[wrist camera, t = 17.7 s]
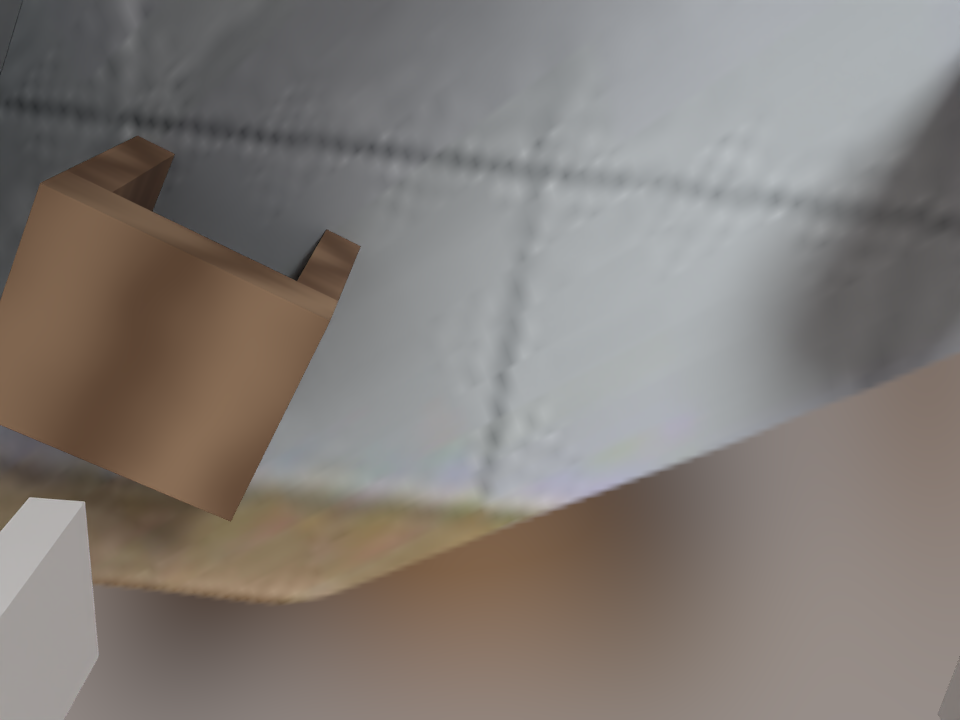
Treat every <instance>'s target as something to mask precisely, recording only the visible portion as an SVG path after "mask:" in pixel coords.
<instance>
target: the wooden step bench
mask: <svg viewBox="0 0 960 720" xmlns="http://www.w3.org/2000/svg"><path fill="white" fill-rule="evenodd" d="M174 155H175V154H173V153H171V152H169V151H167V150H165V149H163V148H161V147H159V146H157V145H155V144H153V143H151V142H149V141H147V140H145V139H143V138H141V137H139V136H136V137H134V138H132V139H130V140H128V141H126V142H124V143H122V144H119V145H117V146H115V147H113V148H111V149H109V150H107V151H105V152H103V153H101V154H99V155H97V156H95V157H93V158H91V159H89V160H87V161H84V162H82V163H80V164H78V165H76V166H74V167H72V168H70V169H68V170H66V171H64V172H62V173H60V174H58V175H56V176H54V177H52V178H50V179H47V180H45V181H43V182H41V183H40V185H39V188H38V191H37V194H36V197H35V200H34V203H33V206H32V209H31V211H30V214H29V217H28V220H27V223H26V226H25V229H24V232H23V235H22V238H21V241H20V244H19V247H18V250H17V253H16V256H15V259H14V262H13V265H12V268H11V270H10V273H9V276H8V279H7V282H6V285H5V288H4V291H3V294H2V297H1V300H0V425H2V426H4V427H6V428H9V429H11V430H14V431H16V432H18V433H21V434H23V435H26V436H28V437H30V438H33V439H35V440H37V441H40V442H42V443H45V444H47V445H49V446H52V447H54V448H57V449H59V450H61V451H64V452H66V453H68V454H71V455H73V456H76V457H78V458H80V459H83V460H85V461H87V462H90V463H92V464H95V465H97V466H99V467H102V468H104V469H107V470H109V471H111V472H114V473H116V474H118V475H121V476H123V477H126V478H128V479H130V480H133V481H135V482H138V483H140V484H142V485H145V486H147V487H149V488H152V489H154V490H157V491H159V492H161V493H164V494H166V495H169V496H171V497H173V498H176V499H178V500H180V501H183V502H185V503H188V504H190V505H192V506H195V507H197V508H199V509H202V510H204V511H207V512H209V513H211V514H214V515H216V516H219V517H221V518H223V519H226V520H228V521H230V522H231V520H232V518H233V516H234V514H235V512H236V510H237V508H238V506H239V504H240V502H241V500H242V498H243V496H244V494H245V492H246V490H247V488H248V486H249V484H250V482H251V480H252V478H253V476H254V473H255V471H256V469H257V467H258V465H259V463H260V461H261V459H262V457H263V455H264V453H265V451H266V449H267V447H268V445H269V443H270V441H271V439H272V437H273V435H274V433H275V431H276V429H277V427H278V425H279V423H280V421H281V419H282V417H283V415H284V413H285V411H286V409H287V407H288V405H289V403H290V401H291V399H292V397H293V395H294V393H295V391H296V389H297V387H298V385H299V383H300V381H301V379H302V377H303V375H304V373H305V371H306V368H307V366H308V364H309V362H310V360H311V358H312V356H313V354H314V352H315V350H316V348H317V346H318V344H319V342H320V340H321V338H322V336H323V334H324V332H325V330H326V328H327V326H328V324H329V322H330V320H331V317H332V315H333V313H334V310H335V308H336V305H337V303H338V300H339V298H340V295H341V293H342V291H343V288H344V286H345V283H346V281H347V278H348V276H349V274H350V271H351V269H352V266H353V264H354V261H355V259H356V256H357V254H358V252H359V249H360V247H361V246H359V245H357V244H355V243H353V242H351V241H349V240H347V239H345V238H343V237H341V236H339V235H337V234H335V233H333V232H331V231H329V230H327V229H326V231H325V233H324V235H323V236H322V238H321V240H320V242H319V243H318V245H317V247H316V249H315V250H314V252H313V254H312V256H311V257H310V259H309V261H308V263H307V264H306V266H305V268H304V270H303V271H302V273H301V275H300V277H299V278H298V280H297V281H295V280H293V279H291V278H289V277H287V276H285V275H283V274H281V273H279V272H277V271H275V270H273V269H270V268H268V267H266V266H264V265H262V264H260V263H258V262H256V261H254V260H252V259H250V258H248V257H246V256H243V255H241V254H239V253H237V252H235V251H233V250H231V249H229V248H227V247H225V246H223V245H221V244H219V243H216V242H214V241H212V240H210V239H208V238H206V237H204V236H202V235H200V234H198V233H196V232H194V231H192V230H189V229H187V228H185V227H183V226H181V225H179V224H177V223H175V222H173V221H171V220H169V219H167V218H165V217H162V216H160V215H158V214H156V213H154V212H152V211H153V208H154V206H155V203H156V201H157V198H158V196H159V193H160V191H161V188H162V186H163V183H164V180H165V178H166V175H167V173H168V170H169V168H170V165H171V163H172V160H173V158H174Z"/></svg>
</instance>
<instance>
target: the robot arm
mask: <svg viewBox="0 0 960 720" xmlns="http://www.w3.org/2000/svg"><path fill="white" fill-rule="evenodd" d="M98 657H99V651H98V640H97V629H96V618H95V607H94V596H93V585H92V573H91V562H90V551H89V540H88V529H87V518H86V507H85V502H84V501H71V500H58V499H45V498H32V497H29V498H28V500H27V501H26V502H25V503H24V504H23V506H22V507H21V508H20V509H19V510H18V511H17V513H16V514H15V515H14V516H13V517H12V519H11V520H10V521H9V522H8V523H7V524H6V526H5V527H4V528H3V529H2V530H1V532H0V720H64V719H65V717H66V715H67V713H68V711H69V710H70V708H71V706H72V704H73V703H74V700H75V699H76V697H77V695H78V693H79V692H80V690H81V688H82V686H83V684H84V682H85V681H86V679H87V677H88V675H89V673H90V671H91V670H92V668H93V666H94V664H95V662H96V660H97V659H98ZM938 716H939V717H940V718H941V720H960V658H959V660H958V663H957V665H956V668H955V670H954V673H953V676H952V678H951V681H950V683H949V686H948V689H947V691H946V694H945V696H944V699H943V702H942V704H941V707H940V709H939V712H938Z"/></svg>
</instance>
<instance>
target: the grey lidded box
mask: <svg viewBox="0 0 960 720" xmlns="http://www.w3.org/2000/svg"><path fill="white" fill-rule="evenodd" d="M21 3H22V0H0V74H1V70H2V67H3V64H4V60H5V57H6V54H7V50H8V47H9V44H10V40H11V37H12V33H13V30H14V27H15V23H16V20H17V17H18V13H19V10H20V7H21Z"/></svg>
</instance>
